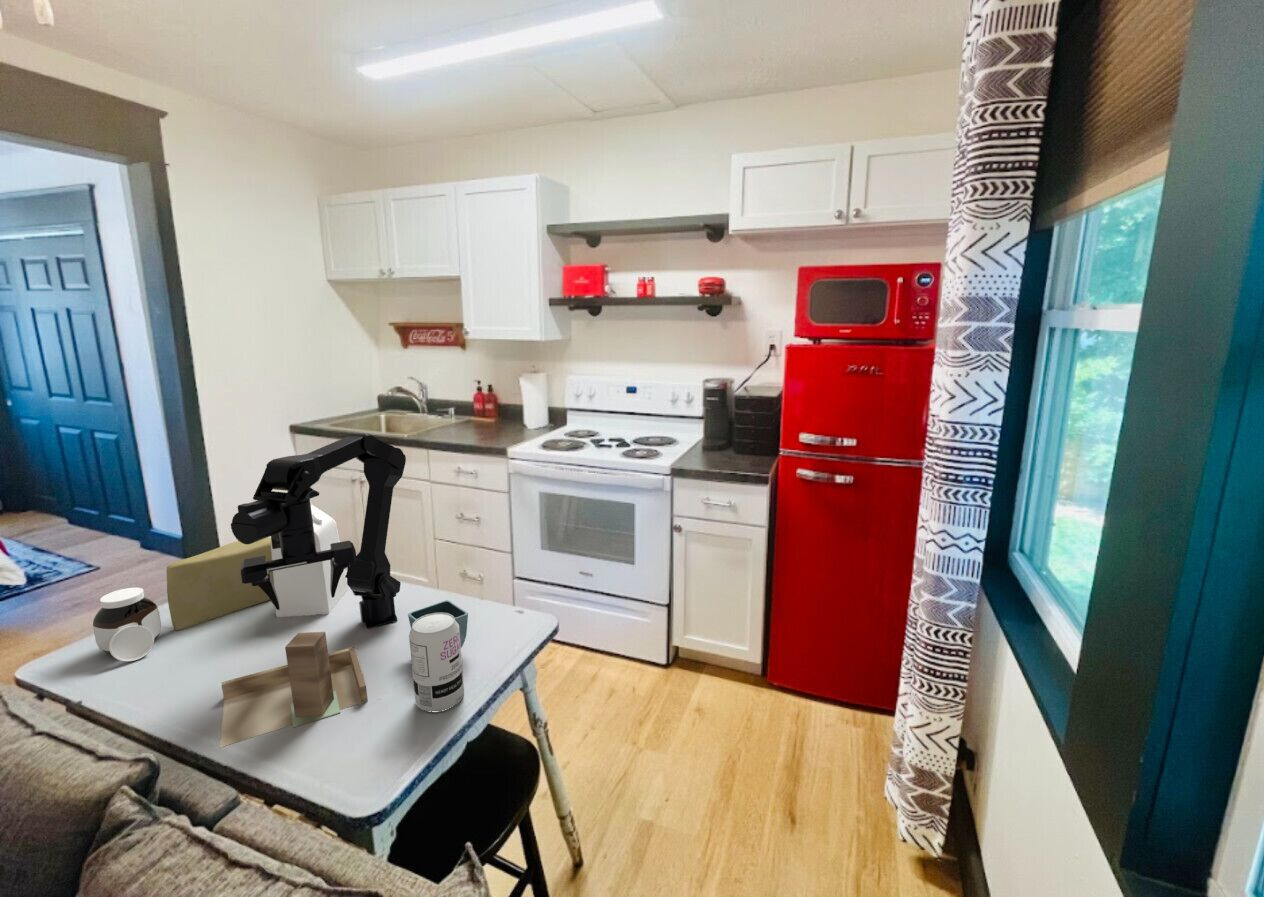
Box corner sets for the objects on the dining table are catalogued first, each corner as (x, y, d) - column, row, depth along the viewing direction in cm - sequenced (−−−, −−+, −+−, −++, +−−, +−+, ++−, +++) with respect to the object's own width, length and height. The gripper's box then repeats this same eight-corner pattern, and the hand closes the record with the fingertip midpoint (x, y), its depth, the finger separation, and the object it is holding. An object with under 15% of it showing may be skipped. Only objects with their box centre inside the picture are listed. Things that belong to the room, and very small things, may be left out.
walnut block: (307, 700, 104) (298, 632, 101) (334, 698, 104) (325, 631, 101) (295, 717, 99) (285, 647, 97) (322, 715, 100) (313, 645, 97)
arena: (356, 662, 116) (354, 646, 116) (369, 705, 103) (366, 688, 102) (224, 699, 105) (221, 682, 105) (220, 753, 92) (216, 734, 91)
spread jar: (141, 632, 129) (131, 582, 126) (184, 637, 126) (175, 587, 124) (81, 663, 117) (68, 609, 115) (127, 669, 115) (115, 614, 112)
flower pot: (450, 637, 125) (447, 598, 123) (472, 654, 119) (469, 613, 117) (410, 654, 119) (406, 613, 117) (430, 672, 113) (427, 629, 111)
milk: (299, 593, 146) (285, 492, 141) (348, 590, 148) (336, 490, 142) (276, 617, 135) (260, 508, 129) (329, 614, 136) (315, 505, 130)
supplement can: (422, 687, 108) (415, 612, 105) (468, 684, 109) (462, 609, 106) (410, 716, 100) (402, 635, 97) (459, 713, 101) (453, 633, 98)
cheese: (185, 637, 127) (173, 571, 123) (163, 625, 131) (151, 562, 128) (288, 595, 145) (279, 538, 142) (265, 587, 150) (257, 531, 147)
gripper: (345, 505, 122) (353, 576, 125) (237, 522, 112) (249, 598, 115) (352, 520, 112) (361, 596, 116) (235, 540, 103) (248, 622, 106)
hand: (306, 602), depth 113 cm, fingers open, 9 cm apart
